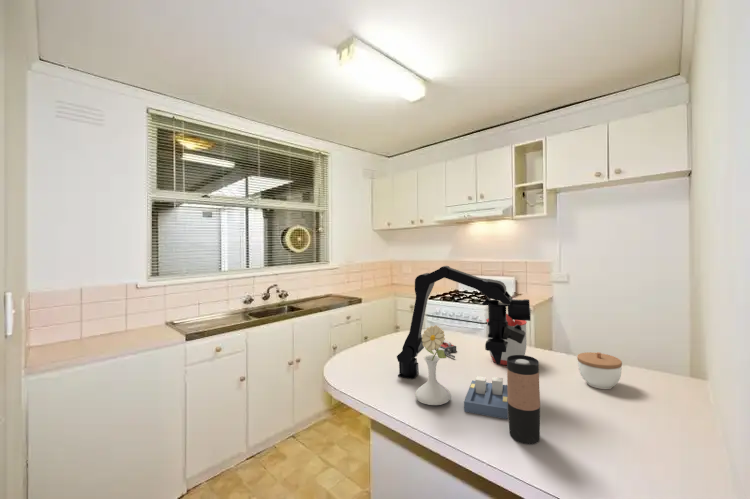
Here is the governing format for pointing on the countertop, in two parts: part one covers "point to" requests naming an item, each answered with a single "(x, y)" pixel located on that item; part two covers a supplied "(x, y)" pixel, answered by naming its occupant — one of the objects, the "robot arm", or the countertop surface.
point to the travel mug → (523, 398)
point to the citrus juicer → (512, 341)
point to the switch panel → (487, 402)
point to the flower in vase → (433, 369)
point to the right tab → (497, 386)
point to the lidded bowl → (599, 369)
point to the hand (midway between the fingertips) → (498, 364)
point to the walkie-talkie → (448, 348)
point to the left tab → (480, 385)
